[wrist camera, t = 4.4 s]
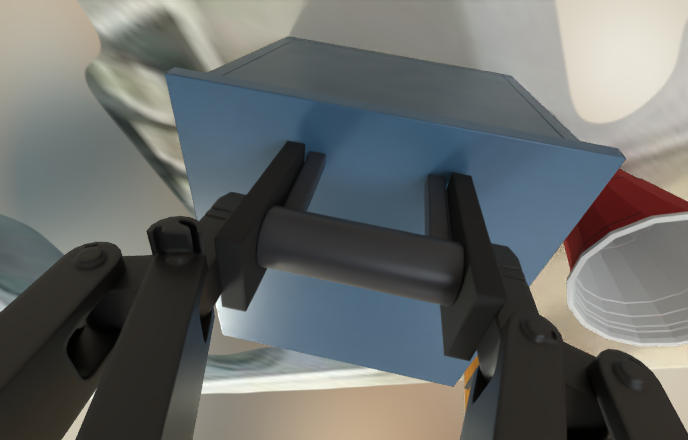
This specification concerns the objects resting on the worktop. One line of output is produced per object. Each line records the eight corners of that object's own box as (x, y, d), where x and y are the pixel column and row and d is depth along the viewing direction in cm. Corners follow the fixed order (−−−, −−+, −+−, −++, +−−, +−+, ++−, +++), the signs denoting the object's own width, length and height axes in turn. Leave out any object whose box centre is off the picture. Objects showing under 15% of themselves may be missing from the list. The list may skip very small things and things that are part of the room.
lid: (175, 66, 14) (33, 147, 9) (618, 147, 13) (743, 289, 8) (226, 325, 27) (180, 419, 22) (452, 376, 26) (460, 487, 21)
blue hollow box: (287, 36, 27) (201, 74, 16) (511, 75, 26) (585, 145, 15) (281, 224, 38) (227, 325, 27) (440, 257, 37) (452, 376, 26)
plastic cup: (570, 117, 27) (658, 192, 18) (698, 159, 28) (854, 255, 18) (499, 222, 34) (534, 320, 24) (603, 255, 34) (681, 366, 24)
